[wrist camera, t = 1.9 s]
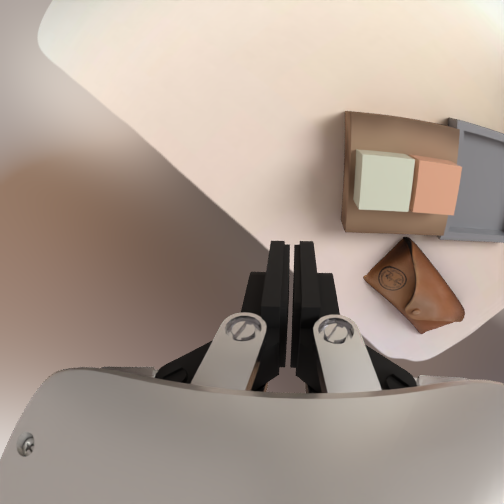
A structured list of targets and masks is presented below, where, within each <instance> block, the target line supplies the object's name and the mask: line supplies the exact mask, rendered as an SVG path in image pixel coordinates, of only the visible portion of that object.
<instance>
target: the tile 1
mask: <svg viewBox="0 0 504 504" xmlns="http://www.w3.org/2000/svg"><path fill="white" fill-rule="evenodd" d="M409 157H411V158H413V159H415V165H414V174H413V183H412V190H411V198H410V204H409V209H410V210H411V211H412V212H416V213H430V214H442V215H454V211H455V207H456V202H457V196H458V191H459V185H460V178H461V171H462V167H461V166H459V165H457V164H455V163H453V162H451V161H449V160H443V159H437V158H430V157H424V156H417V155H409Z"/></svg>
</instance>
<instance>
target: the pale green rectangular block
mask: <svg viewBox="0 0 504 504" xmlns="http://www.w3.org/2000/svg"><path fill="white" fill-rule="evenodd" d="M414 165H415V159H413V158H411V157H409V156H408V155H406V154H401V153H392V152H382V151H371V150H358V149H356V166H355V183H354V197H353V200H354V202H355V204H356V206H357V207H358V209H360V210H382V211H400V212H408V211H409V204H410V198H411V190H412V183H413V174H414Z"/></svg>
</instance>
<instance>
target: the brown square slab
mask: <svg viewBox="0 0 504 504" xmlns="http://www.w3.org/2000/svg"><path fill="white" fill-rule="evenodd" d="M459 135H460V129H456V128H453V127H449V126H445V125H440V124H436V123H431V122H426V121H420V120H415V119H409V118H403V117H396V116H389V115H381V114H372V113H362V112H351V111H345V162H344V184H343V201H342V214H341V222H342V224H343V227H344V230H345V232H358V233H390V234H417V235H439V236H444V232H445V227H446V223H447V219H448V215H442V214H430V213H416V212H412V211H411V210H410V209H409V211H408V212H400V211H382V210H360V209H358V207H357V206H356V204H355V202H354V200H353V197H354V183H355V166H356V149H358V150H371V151H382V152H392V153H401V154H406V155H408V156H409V155H417V156H424V157H430V158H437V159H443V160H449V161H451V162H453V163H455V164H457V158H458V148H459Z"/></svg>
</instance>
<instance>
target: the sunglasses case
mask: <svg viewBox="0 0 504 504" xmlns="http://www.w3.org/2000/svg"><path fill="white" fill-rule="evenodd" d="M363 278H364V280H365V281H366V282H367V283H368V284H370V285H371V286H372V287H373V288H374V289H375V290H376V291H378V292H379V293H380V294H381V295H382V296H384V297H385V298H386V299H387V300H388V301H389V302H391V303H392V304H393V305H394V306H395V307H396V308H397V309H398V310H399V311H400V312H401V313H402V314H403V315H404V316H405V317H406V318H407V319H408V320H409V321H410V322H411V323H412V324H413V325H414V326H415V328H416V329H417V330H418V331H419V333H421V334H423V333H425V332H426V331H429V330H432V329H436V328H438V327H441V326H444V325H447V324H450V323H453V322H461V321H462V320H463V318H464V315H465V311H464V308H463V307H462V305H461V303H460V302H459V300H458V299H457V297H456V296H455V294H454V293H453V291H452V290H451V289H450V287H449V286H448V285H447V283H446V282H445V280H444V279H443V278H442V276H441V275H440V274H439V272H438V271H437V270H436V268H435V267H434V266H433V265H432V263H431V262H430V261H429V260H428V258H427V257H426V256H425V254H424V253H423V252H422V251H421V250H420V248H419V247H418V246H417V245H416V244H415V243H414V242H413V241H412V240H411V239H410V238H408V237H403V239H402V240H401V241H400V242H399V243H398V244H397V245H396V246H395V247H394V248H393V249H392V250H391V251H390V252H389V253H388V254H387V255H386V256H385V257H384V258H383V259H382V260H380V261H379V262H378V263H377V264H376V265H375V266H374V267H373V268H372V269H371V270H370V272H369V273H368V274H367V275H365V276H364V277H363Z"/></svg>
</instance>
